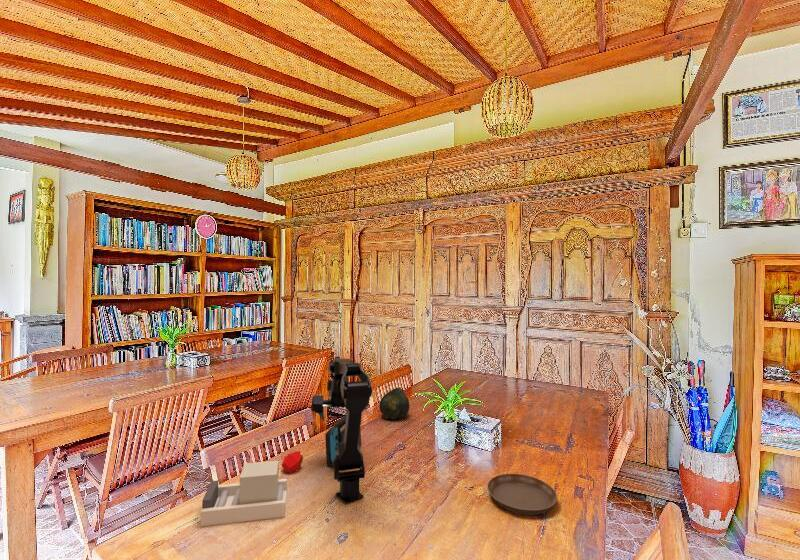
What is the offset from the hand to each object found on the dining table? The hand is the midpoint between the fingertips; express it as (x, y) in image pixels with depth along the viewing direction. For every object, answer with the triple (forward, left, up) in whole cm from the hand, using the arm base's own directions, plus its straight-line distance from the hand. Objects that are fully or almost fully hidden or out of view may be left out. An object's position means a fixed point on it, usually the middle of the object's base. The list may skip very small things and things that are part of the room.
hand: (336, 420), depth 153 cm
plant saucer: (-60, -32, -15) cm, 69 cm away
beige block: (-16, +34, -11) cm, 39 cm away
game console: (-1, -4, -14) cm, 15 cm away
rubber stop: (-10, +46, -13) cm, 49 cm away
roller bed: (-14, +37, -14) cm, 42 cm away
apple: (0, +17, -14) cm, 22 cm away
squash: (+22, -45, -14) cm, 52 cm away
